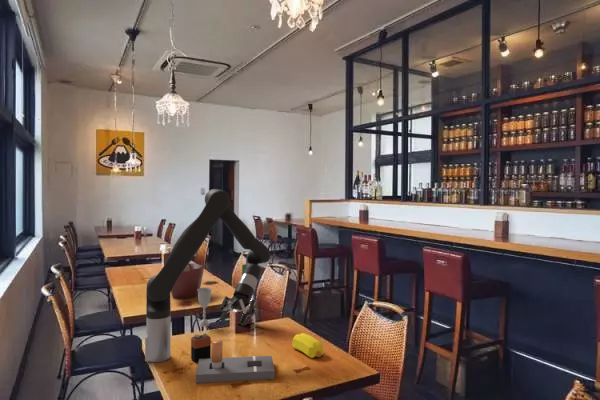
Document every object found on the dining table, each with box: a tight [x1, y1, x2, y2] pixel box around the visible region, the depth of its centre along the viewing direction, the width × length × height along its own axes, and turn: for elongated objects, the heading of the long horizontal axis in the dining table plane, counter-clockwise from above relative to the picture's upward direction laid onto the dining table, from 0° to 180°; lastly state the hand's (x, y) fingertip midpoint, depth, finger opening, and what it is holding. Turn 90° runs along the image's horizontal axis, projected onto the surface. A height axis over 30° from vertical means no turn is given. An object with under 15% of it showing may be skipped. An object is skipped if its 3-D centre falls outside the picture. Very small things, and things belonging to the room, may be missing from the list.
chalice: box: [197, 287, 213, 328], centre depth 213 cm, size 7×7×18 cm
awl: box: [211, 339, 223, 369], centre depth 158 cm, size 4×4×12 cm
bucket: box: [170, 263, 205, 300], centre depth 269 cm, size 24×22×25 cm
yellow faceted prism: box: [291, 332, 324, 359], centre depth 180 cm, size 18×7×8 cm
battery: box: [190, 333, 212, 363], centre depth 171 cm, size 4×7×10 cm, turn 126°
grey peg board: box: [195, 355, 276, 384], centre depth 159 cm, size 28×14×3 cm, turn 98°
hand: (231, 322), depth 168 cm, fingers open, 8 cm apart
